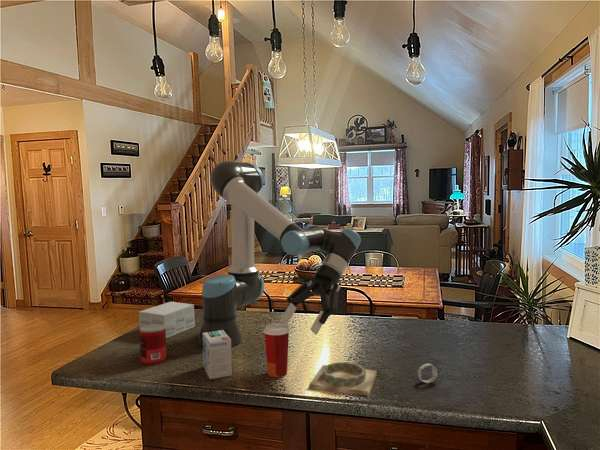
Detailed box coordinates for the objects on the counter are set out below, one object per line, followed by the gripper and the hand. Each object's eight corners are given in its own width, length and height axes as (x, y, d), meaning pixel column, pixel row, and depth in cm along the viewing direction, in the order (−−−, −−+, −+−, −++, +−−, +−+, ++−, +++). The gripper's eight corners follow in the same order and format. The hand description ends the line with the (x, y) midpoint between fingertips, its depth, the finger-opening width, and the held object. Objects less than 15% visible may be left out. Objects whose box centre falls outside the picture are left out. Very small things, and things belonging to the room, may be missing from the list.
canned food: (171, 357, 144) (170, 324, 143) (155, 366, 136) (154, 331, 136) (151, 355, 146) (150, 322, 146) (135, 363, 139) (134, 329, 138)
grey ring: (438, 383, 121) (438, 365, 120) (421, 385, 120) (421, 367, 119) (432, 378, 124) (432, 361, 123) (416, 380, 123) (416, 363, 122)
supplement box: (171, 323, 184) (170, 301, 184) (195, 327, 178) (194, 304, 177) (139, 334, 169) (138, 310, 169) (164, 339, 163) (163, 314, 162)
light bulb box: (202, 366, 136) (201, 332, 135) (224, 363, 138) (223, 329, 138) (209, 379, 126) (208, 342, 125) (233, 375, 128) (232, 339, 128)
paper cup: (292, 368, 133) (291, 322, 132) (288, 379, 125) (287, 330, 124) (266, 368, 133) (265, 322, 132) (261, 378, 126) (260, 330, 125)
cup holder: (309, 388, 119) (309, 376, 119) (323, 368, 132) (322, 358, 132) (368, 395, 114) (368, 383, 114) (376, 374, 127) (376, 363, 127)
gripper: (367, 282, 134) (334, 343, 125) (310, 273, 152) (278, 325, 143) (355, 267, 130) (320, 329, 121) (298, 260, 148) (264, 313, 139)
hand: (297, 327), depth 132 cm, fingers open, 13 cm apart
